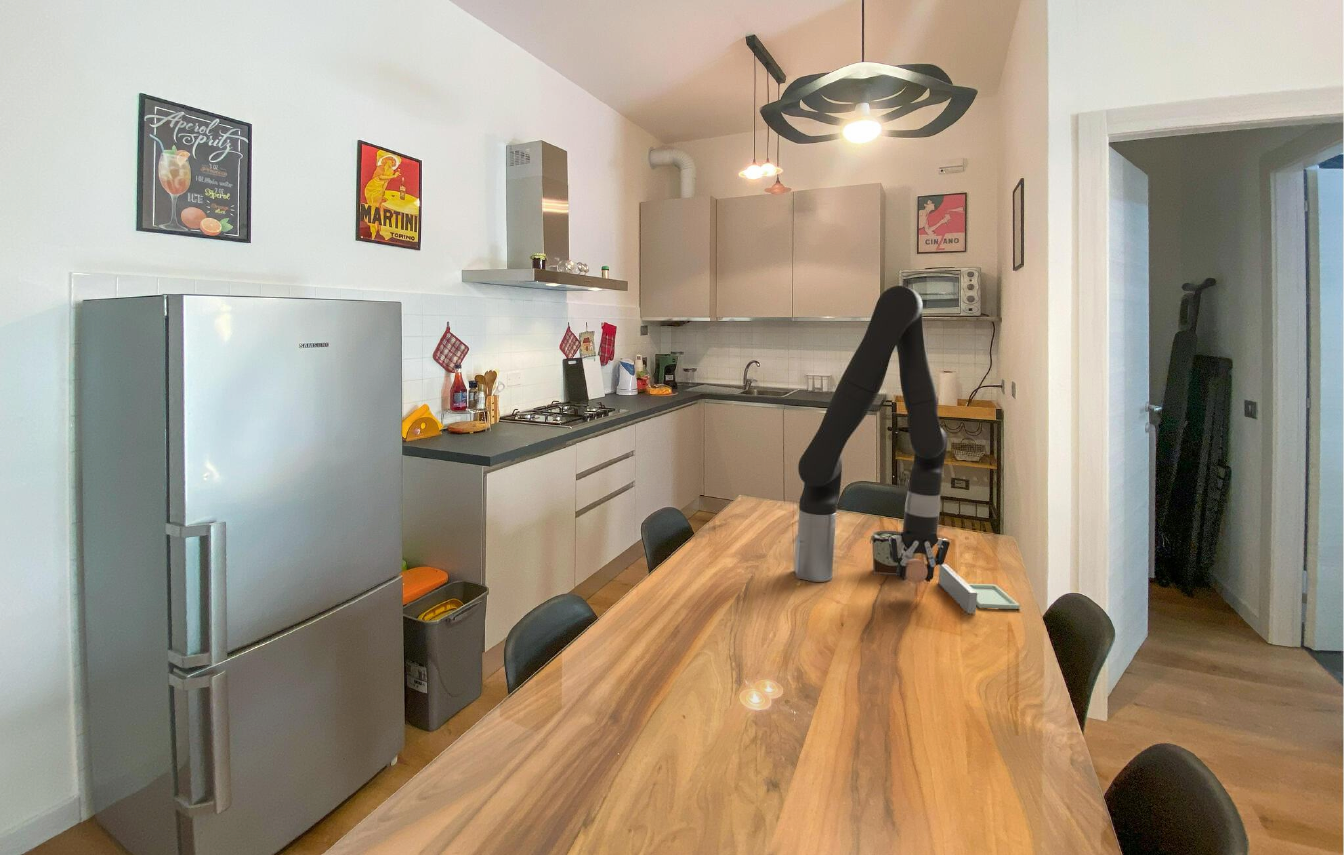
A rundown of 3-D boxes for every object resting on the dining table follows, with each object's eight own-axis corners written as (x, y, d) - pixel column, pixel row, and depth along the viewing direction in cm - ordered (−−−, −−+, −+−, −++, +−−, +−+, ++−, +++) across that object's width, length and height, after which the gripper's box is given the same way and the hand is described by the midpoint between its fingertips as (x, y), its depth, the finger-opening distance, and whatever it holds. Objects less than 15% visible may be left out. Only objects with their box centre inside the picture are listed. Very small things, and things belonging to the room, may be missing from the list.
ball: (906, 585, 152) (908, 563, 151) (898, 576, 158) (901, 554, 157) (929, 586, 152) (932, 564, 151) (921, 577, 158) (924, 556, 157)
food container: (910, 567, 174) (913, 531, 173) (916, 575, 168) (920, 538, 167) (863, 564, 176) (866, 528, 174) (867, 572, 170) (870, 535, 168)
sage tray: (979, 608, 149) (979, 603, 149) (958, 588, 161) (958, 583, 161) (1019, 610, 149) (1019, 605, 149) (995, 589, 161) (995, 584, 160)
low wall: (968, 613, 146) (970, 592, 145) (938, 582, 164) (939, 563, 163) (975, 614, 146) (977, 592, 145) (944, 582, 164) (946, 563, 163)
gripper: (895, 514, 149) (888, 584, 151) (959, 517, 148) (951, 587, 151) (886, 504, 156) (879, 572, 159) (946, 507, 156) (939, 575, 158)
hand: (914, 579), depth 155 cm, fingers closed on ball, 5 cm apart
